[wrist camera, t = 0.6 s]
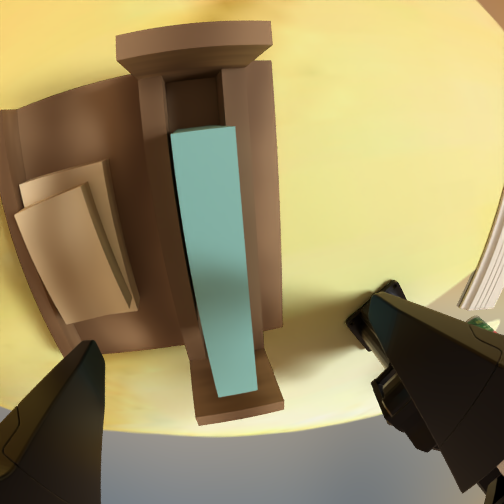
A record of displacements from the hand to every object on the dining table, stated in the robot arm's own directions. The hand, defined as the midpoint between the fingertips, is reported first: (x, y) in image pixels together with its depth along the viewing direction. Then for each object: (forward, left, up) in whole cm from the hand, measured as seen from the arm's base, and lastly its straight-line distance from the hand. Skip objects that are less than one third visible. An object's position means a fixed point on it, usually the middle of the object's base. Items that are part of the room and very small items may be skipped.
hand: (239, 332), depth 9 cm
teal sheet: (0, 0, -12) cm, 12 cm away
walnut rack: (+2, +4, -13) cm, 13 cm away
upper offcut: (+5, +8, -10) cm, 13 cm away
